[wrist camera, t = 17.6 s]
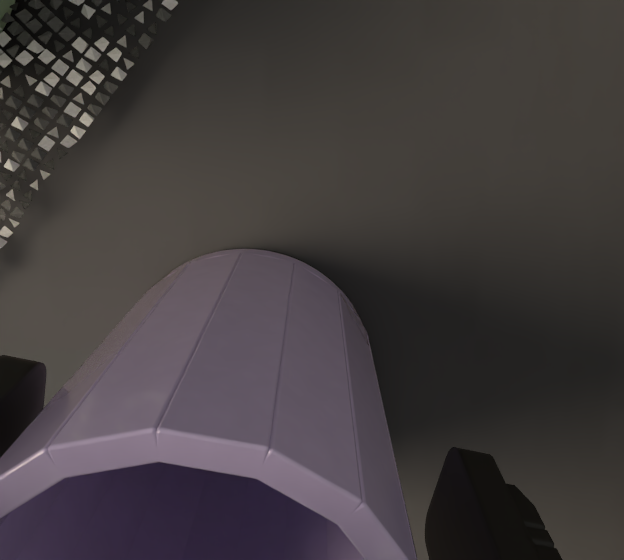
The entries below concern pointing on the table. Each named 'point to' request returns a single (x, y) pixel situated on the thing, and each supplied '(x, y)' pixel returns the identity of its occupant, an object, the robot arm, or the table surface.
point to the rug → (53, 79)
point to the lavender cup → (215, 430)
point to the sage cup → (0, 5)
